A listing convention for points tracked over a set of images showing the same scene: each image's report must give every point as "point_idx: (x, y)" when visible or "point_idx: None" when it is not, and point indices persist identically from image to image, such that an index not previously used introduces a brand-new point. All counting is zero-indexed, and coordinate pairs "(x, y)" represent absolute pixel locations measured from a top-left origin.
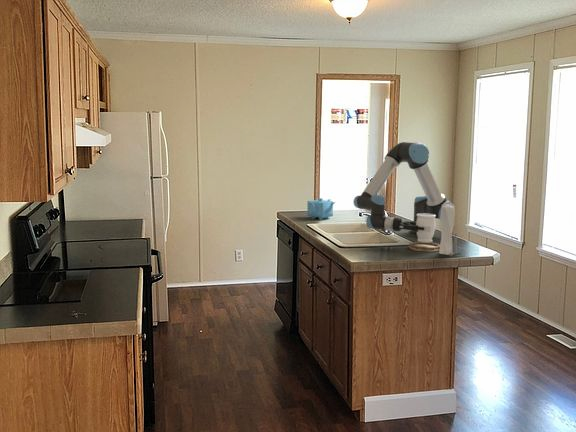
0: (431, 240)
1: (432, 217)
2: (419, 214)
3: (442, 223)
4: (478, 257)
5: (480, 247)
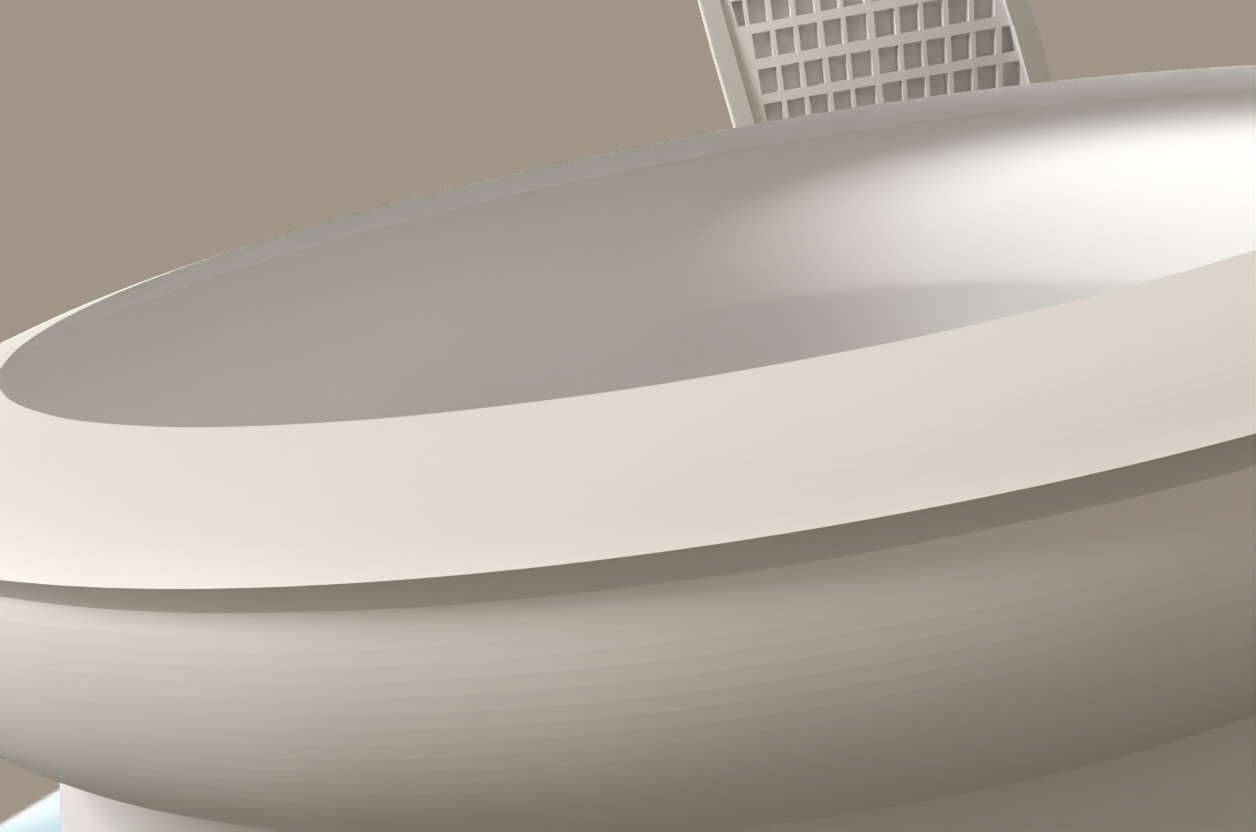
0: None
1: (859, 191)
2: (427, 685)
3: None
4: None
5: (23, 812)
